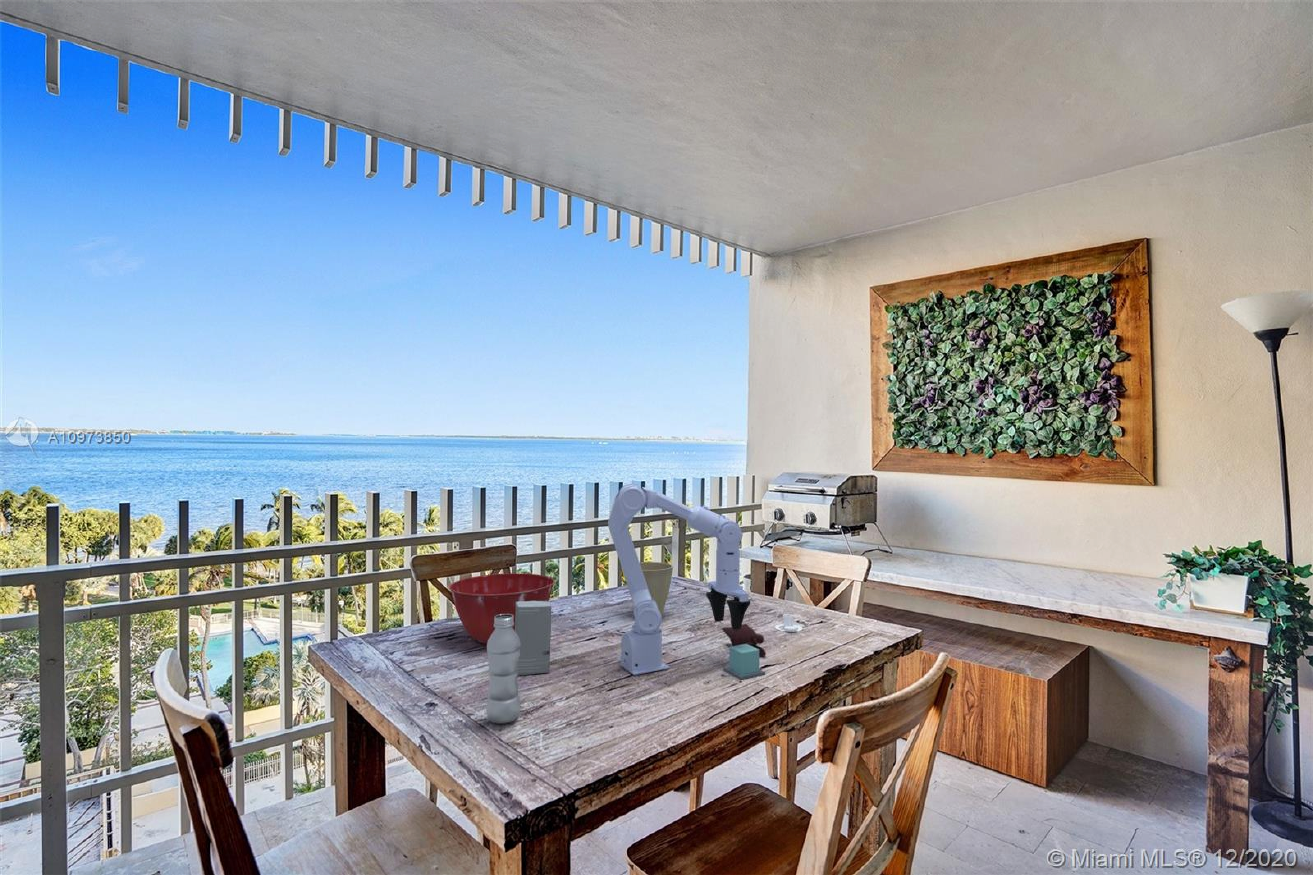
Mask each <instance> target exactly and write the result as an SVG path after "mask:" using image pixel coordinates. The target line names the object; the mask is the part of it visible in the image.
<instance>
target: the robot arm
mask: <svg viewBox="0 0 1313 875" xmlns="http://www.w3.org/2000/svg"><path fill="white" fill-rule="evenodd" d="M643 508H645V509H647V510H650V509H656V508H658V509H660V510H662V511H664V512H665V511H666V512H668V513H669V514H671V515H675V516H677V517H680V518H681V519H684V520H686V521H687V525H688V527H689V528H690V529H692V530H695V531H697V532H700V533H702V534H703V535H706V536H708V537H710V538H716V550H715V552H716V553H715V555H716V556H715V561H716V562H715V567H716V568H715V581H714V580H712V581H708V590H709V591H707V592H706V593H705V596H706V598H707V600H708V601H709V604H710V607H711V611H712V615H713V618H714V622H715V623H716V622H717V623H718V622H723V621H724V619H725V608H726V604H727V606H728V609H729V615H730V624H731V625H730V627H732V629H733V630H737V629H741V626H742V625H743V620H744V617H745V614H746V612H747V610H748V608H749V606H750V604H751V600H750V599H749V592H747V591H745V590H744V586H743V585H741V584H740V571H741V570H740V567H741V566H740V562H741V560H740V558H741V557H740V556H741V554H740V542H741V541H742V539H743V535H744V534H743V532H742V528H741V526H740V525H739V524H738V523H737V522H735V521H734V520H731V519H730V518H727V516H726V515H724V514H718V513H716V512H713V511H711V510H709V509H710V508H709V507H708V506H707V505H703V506H701V505H696V506H693V507H689V506H688V505H685V504H684V503H682V502H679V501H678V500H675V499H674V498H671V497H669V496H667V495H665V494H663V493H661V492H659V491H657V490H654V489H650V488H648V487H644V486H641V487H640V486H639V485H637V484H635V483H626V484H625V485H623V486H622V487H621V488H620V489H619V490H618V491H617V494H615V497H614V499H613V504H612V507H611V510H610V513H609V517H608V522H607V526H608V530H609V532H610V536H611V538H612V541H613V546H614V547H615V551H616V555H617V557H618V559H619V563H620V567H621V569H622V572H623V575H624V579H625V582H626V584H627V586H628V589H629V590H628V591H629V595H630V594H631V595H630V598H631V597H632V598H631V601H632V600H633V602H632V604H634V605H633V608H632V609H633V610H632V613H633V615H634V621H635V622H634V624H633V625H632V627H631V630H630V631H627V632H625V633H623V634H622V636H621V641H620V642H621V643H620V644H621V645H620V646H621V647H620V648H621V652H620V654H621V656H620V660H621V662H620V663H619V665H620V666H621V667H622V668H624V669H625V670H626V671H627V672H629V673H630V674H631V675H633V676H637V675H641V674H646V673H652V672H658V671H662V670H669V669H670V668H669V667H670V666H669V665H668V664H666V663H664V662H663V650H662V649H663V627H662V626H661V625H662V622H663V617H662V616H663V615H661V613H660V611H659V609H658V605H657V603H656V602H655V601H654V600H653V599H652V597H651V596H650V593H649V590H648V587H647V584H646V581H645V578H644V575H643V572H642V569H641V566H640V563H639V562H640V560H639V556H638V553H637V550H636V548H635V545H634V542H633V539H632V538H633V537H632V536H631V533H630V530H629V526H630V524H631V522H632V521H633V518H634V517H635V516H636V515H637V514H638V513H639V512H640V511H642V509H643ZM728 597H730V598H732V599H728V600H727V598H728Z"/></svg>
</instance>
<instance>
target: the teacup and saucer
mask: <svg viewBox="0 0 1313 875" xmlns="http://www.w3.org/2000/svg"><path fill="white" fill-rule="evenodd" d="M794 618H795V616H794V615H793V614H790V613H785V614H783V615H782V623H781V624H776V625H775V626H774V628H775V629H776V630H777V631H780V632H787V633H795V632H801V631H802V630H803V627H802V626H800V625H799V624H794ZM780 627H783V629H781V628H780Z"/></svg>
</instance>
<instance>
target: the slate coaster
mask: <svg viewBox="0 0 1313 875" xmlns="http://www.w3.org/2000/svg"><path fill="white" fill-rule="evenodd" d="M722 669H723V671H724V672H725V673H727V674H729V675H731V676H733V677H735V678H736V679H738V680H740V681H742V680H747V679H751V678H756V677H761V676H765V675H766V671H765V670H762V669H761V668H759V672H754V673H749V674H744V675H741V674H739V673H737V672H736V671H734V670H732V669H730V668H729V666H725V667H723V668H722Z"/></svg>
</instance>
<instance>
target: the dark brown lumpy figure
mask: <svg viewBox="0 0 1313 875" xmlns="http://www.w3.org/2000/svg"><path fill="white" fill-rule="evenodd" d="M721 630H722V631H723V632H724V633H725V635H726V636H727V637H728V638H729V641H730V643H731V647H732V646H737V645H743V644H748V645H750V646H752V647H754V648H757V649H759V657H762V658H764V657H765V656H766V655H767V652H766V650H765V649H764V648H763V647H762V646H760V645H758V644H763V643H764V641H765V638H764V636H763V635H762V634H760V633H759V634H758V633H756V631H755V629H753V628H752V627H750V626H749V625H748V624H742V626H741V629H737V630H733V629H732V626H730V627H729V626H727V627H726V626H725V627H722V628H721Z"/></svg>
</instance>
